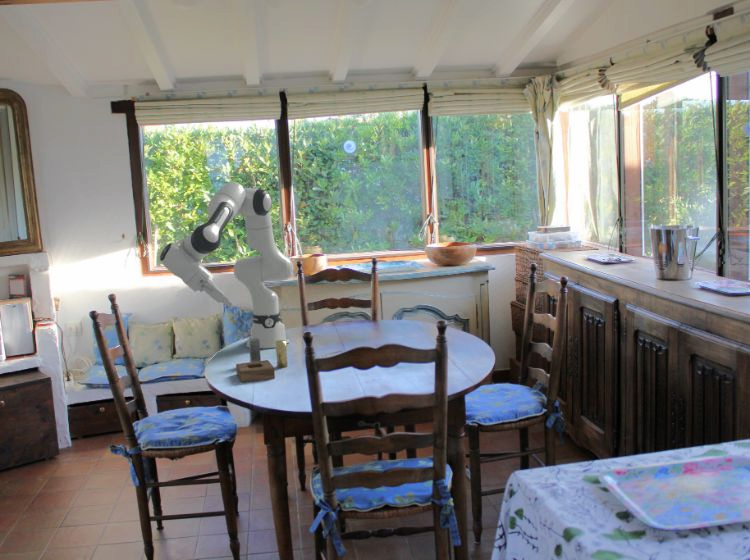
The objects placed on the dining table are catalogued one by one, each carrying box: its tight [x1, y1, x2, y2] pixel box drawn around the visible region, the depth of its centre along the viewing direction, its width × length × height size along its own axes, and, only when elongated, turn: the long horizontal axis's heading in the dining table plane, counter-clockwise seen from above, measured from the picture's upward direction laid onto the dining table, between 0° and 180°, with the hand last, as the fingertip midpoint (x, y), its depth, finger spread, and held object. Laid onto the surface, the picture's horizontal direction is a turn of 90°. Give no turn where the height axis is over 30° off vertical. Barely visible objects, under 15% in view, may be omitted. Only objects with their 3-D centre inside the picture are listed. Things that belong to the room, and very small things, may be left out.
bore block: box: [235, 359, 276, 383], centre depth 266 cm, size 12×12×4 cm
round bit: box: [275, 340, 289, 369], centre depth 278 cm, size 4×4×10 cm
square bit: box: [248, 338, 262, 362], centre depth 282 cm, size 4×4×10 cm
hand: (228, 303), depth 263 cm, fingers open, 8 cm apart
